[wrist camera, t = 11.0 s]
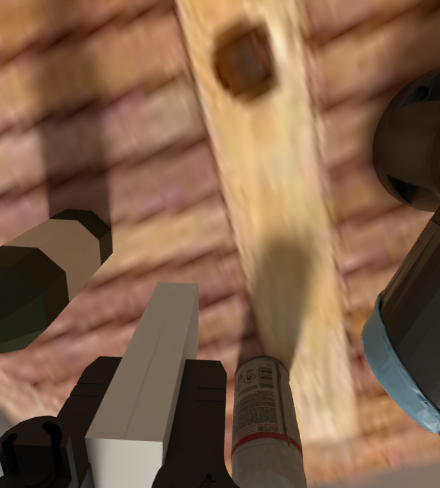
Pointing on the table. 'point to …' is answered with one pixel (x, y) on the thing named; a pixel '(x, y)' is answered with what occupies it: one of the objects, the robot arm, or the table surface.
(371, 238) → the table surface
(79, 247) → the wine bottle
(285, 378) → the spray can
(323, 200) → the table surface
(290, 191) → the table surface
